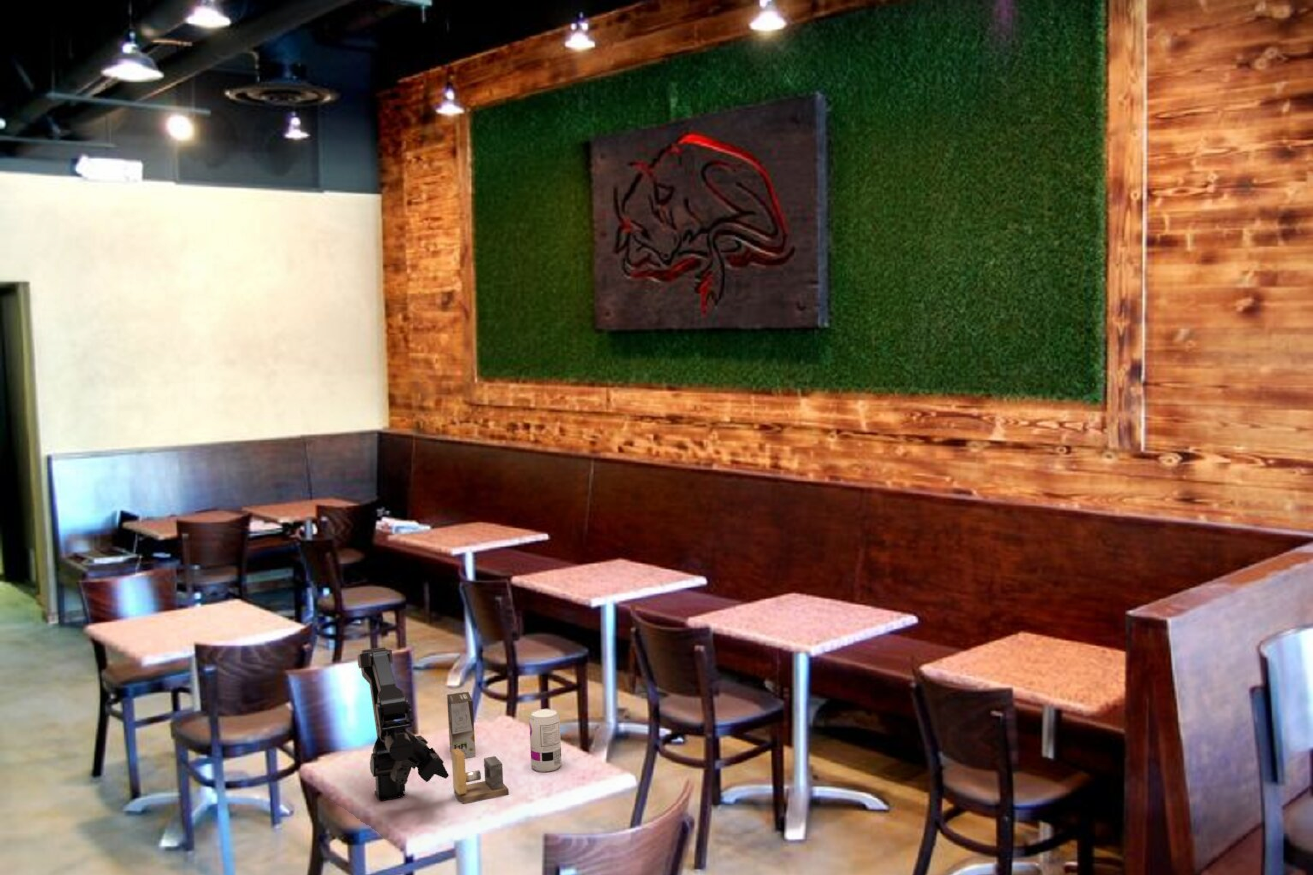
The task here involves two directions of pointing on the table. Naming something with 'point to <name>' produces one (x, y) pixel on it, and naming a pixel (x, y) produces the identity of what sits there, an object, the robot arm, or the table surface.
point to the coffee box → (461, 723)
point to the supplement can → (545, 740)
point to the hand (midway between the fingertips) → (447, 776)
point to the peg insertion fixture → (486, 783)
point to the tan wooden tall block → (462, 772)
